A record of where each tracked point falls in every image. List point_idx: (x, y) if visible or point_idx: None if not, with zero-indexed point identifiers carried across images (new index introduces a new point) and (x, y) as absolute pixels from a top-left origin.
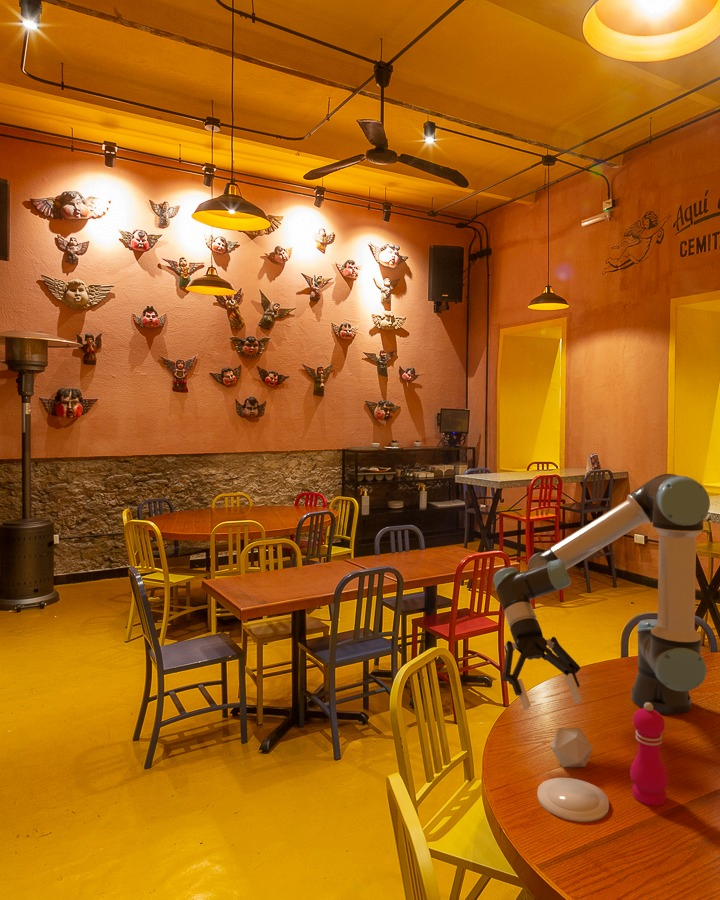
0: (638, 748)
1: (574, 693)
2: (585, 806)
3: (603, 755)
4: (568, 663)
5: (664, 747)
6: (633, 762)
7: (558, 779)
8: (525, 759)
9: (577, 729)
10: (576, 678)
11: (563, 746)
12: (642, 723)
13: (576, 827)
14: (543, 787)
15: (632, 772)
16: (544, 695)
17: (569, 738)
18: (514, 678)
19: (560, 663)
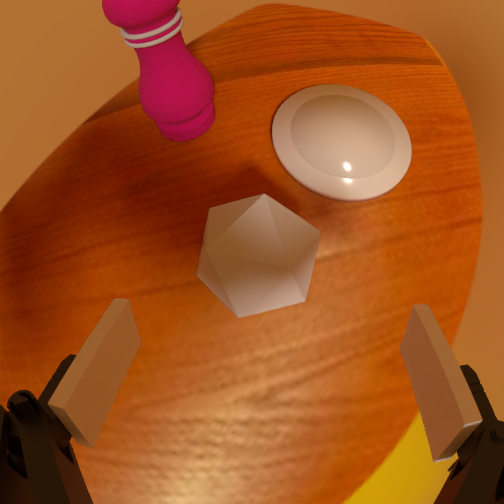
0: (179, 49)
1: (118, 347)
2: (336, 102)
3: (151, 280)
4: (14, 476)
5: (22, 268)
6: (193, 81)
7: (345, 189)
8: (371, 321)
9: (223, 240)
10: (48, 386)
11: (303, 219)
12: None
13: (368, 88)
14: (392, 173)
15: (208, 86)
16: None
17: (280, 211)
18: (502, 424)
19: (62, 488)
